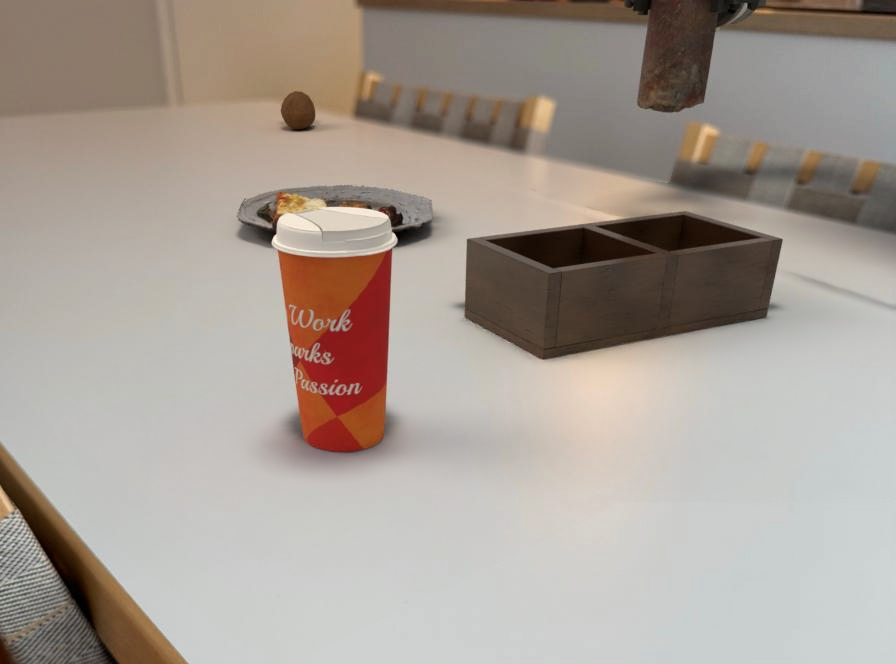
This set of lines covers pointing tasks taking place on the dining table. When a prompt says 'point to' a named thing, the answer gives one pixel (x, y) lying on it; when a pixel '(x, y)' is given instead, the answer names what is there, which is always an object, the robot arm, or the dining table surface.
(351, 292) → the paper cup
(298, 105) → the potato
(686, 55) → the candle
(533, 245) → the brown wooden divided box
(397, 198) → the food plate
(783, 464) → the dining table surface
